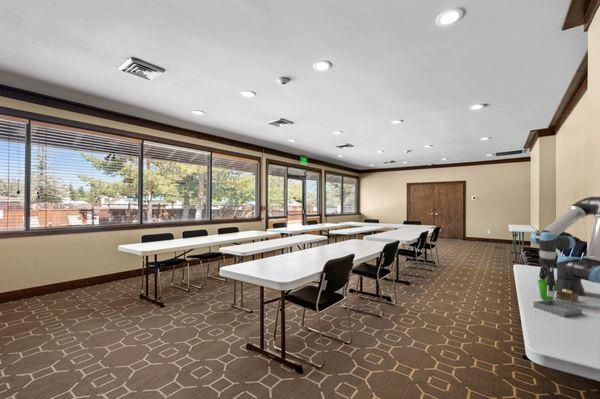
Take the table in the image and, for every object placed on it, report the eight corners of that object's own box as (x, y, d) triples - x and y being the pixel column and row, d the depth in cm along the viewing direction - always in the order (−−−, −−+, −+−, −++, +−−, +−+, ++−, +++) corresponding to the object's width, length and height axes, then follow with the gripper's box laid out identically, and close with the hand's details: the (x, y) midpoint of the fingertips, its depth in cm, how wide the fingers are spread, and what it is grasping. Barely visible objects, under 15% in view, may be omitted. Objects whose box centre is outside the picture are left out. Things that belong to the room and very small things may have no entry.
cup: (560, 303, 164) (561, 284, 164) (542, 301, 166) (543, 283, 166) (550, 297, 173) (550, 280, 173) (533, 296, 175) (533, 278, 175)
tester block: (563, 297, 175) (563, 290, 175) (577, 300, 169) (577, 294, 169) (556, 298, 173) (556, 291, 173) (570, 302, 166) (570, 295, 166)
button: (565, 293, 174) (565, 288, 174) (573, 295, 169) (573, 290, 169) (560, 293, 172) (560, 288, 172) (569, 296, 168) (569, 291, 168)
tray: (550, 304, 161) (550, 299, 161) (582, 314, 148) (582, 308, 148) (533, 307, 157) (533, 301, 157) (564, 317, 143) (564, 311, 143)
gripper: (533, 254, 183) (532, 286, 182) (546, 260, 160) (545, 297, 160) (548, 255, 179) (547, 288, 179) (563, 262, 157) (562, 300, 157)
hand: (546, 293), depth 170 cm, fingers open, 13 cm apart
